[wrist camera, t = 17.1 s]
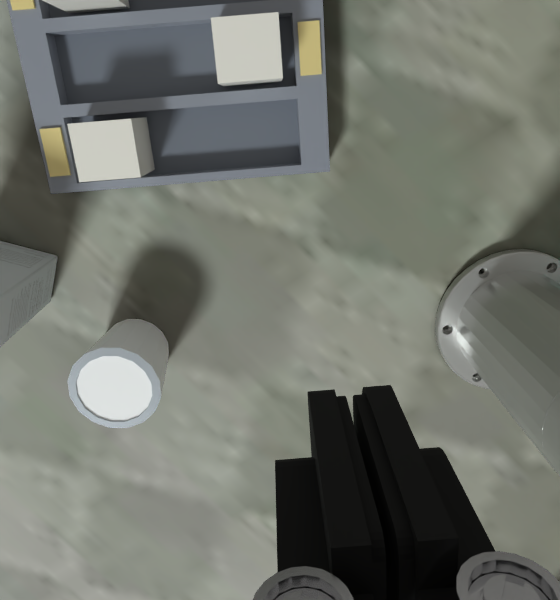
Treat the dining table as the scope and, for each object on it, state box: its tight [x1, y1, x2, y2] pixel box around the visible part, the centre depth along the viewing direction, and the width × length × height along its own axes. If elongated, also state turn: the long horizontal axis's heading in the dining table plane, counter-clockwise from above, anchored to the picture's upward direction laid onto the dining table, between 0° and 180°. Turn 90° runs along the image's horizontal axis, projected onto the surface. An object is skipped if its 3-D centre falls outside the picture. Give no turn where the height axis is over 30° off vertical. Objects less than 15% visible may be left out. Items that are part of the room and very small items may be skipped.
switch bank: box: [7, 0, 330, 194], centre depth 36 cm, size 20×16×3 cm
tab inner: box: [67, 117, 155, 182], centre depth 35 cm, size 4×4×4 cm
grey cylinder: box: [68, 319, 169, 428], centre depth 42 cm, size 7×7×7 cm
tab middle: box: [211, 12, 283, 86], centre depth 33 cm, size 4×4×4 cm
